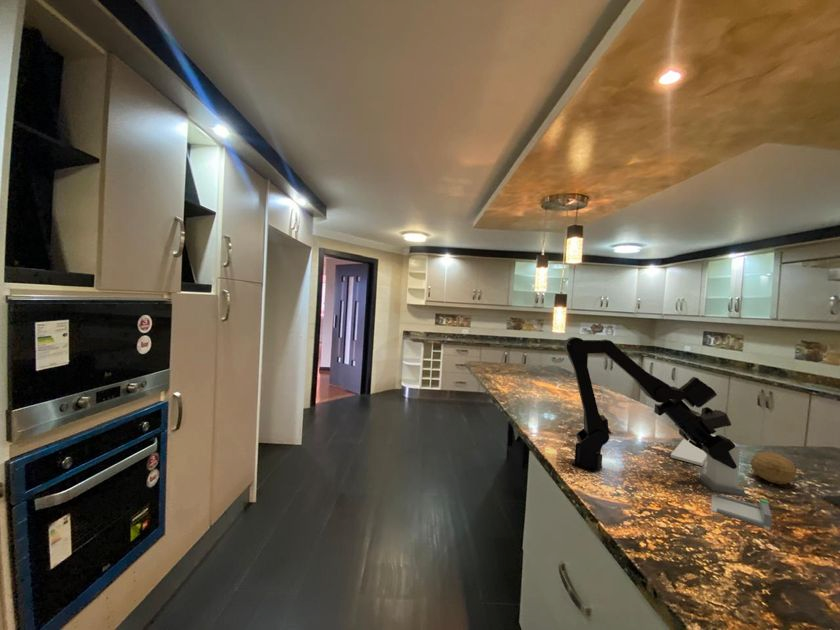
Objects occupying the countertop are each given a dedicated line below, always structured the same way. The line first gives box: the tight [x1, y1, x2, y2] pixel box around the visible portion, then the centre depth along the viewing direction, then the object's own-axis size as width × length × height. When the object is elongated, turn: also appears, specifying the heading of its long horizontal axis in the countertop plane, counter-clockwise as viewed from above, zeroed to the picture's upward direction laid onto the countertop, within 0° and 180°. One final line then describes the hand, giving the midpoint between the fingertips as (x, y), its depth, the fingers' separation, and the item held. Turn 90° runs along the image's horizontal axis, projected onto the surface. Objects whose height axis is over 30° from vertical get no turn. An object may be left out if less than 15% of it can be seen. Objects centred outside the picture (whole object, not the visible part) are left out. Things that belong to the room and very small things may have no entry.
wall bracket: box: [670, 433, 717, 467], centre depth 124 cm, size 10×7×28 cm
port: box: [710, 493, 773, 531], centre depth 85 cm, size 10×11×3 cm
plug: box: [699, 434, 745, 495], centre depth 98 cm, size 7×7×14 cm
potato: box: [750, 451, 797, 485], centre depth 105 cm, size 10×14×8 cm
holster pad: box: [693, 476, 751, 499], centre depth 98 cm, size 9×9×1 cm
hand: (728, 463), depth 97 cm, fingers open, 6 cm apart
